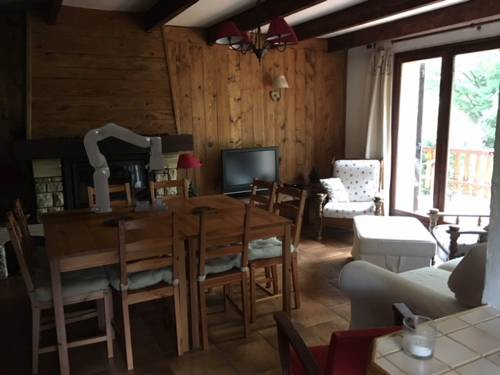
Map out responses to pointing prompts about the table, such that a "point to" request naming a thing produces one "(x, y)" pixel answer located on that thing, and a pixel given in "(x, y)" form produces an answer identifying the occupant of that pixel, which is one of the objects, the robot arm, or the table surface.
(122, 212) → the table surface
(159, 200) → the plug
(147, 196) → the magazine
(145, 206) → the socket panel
